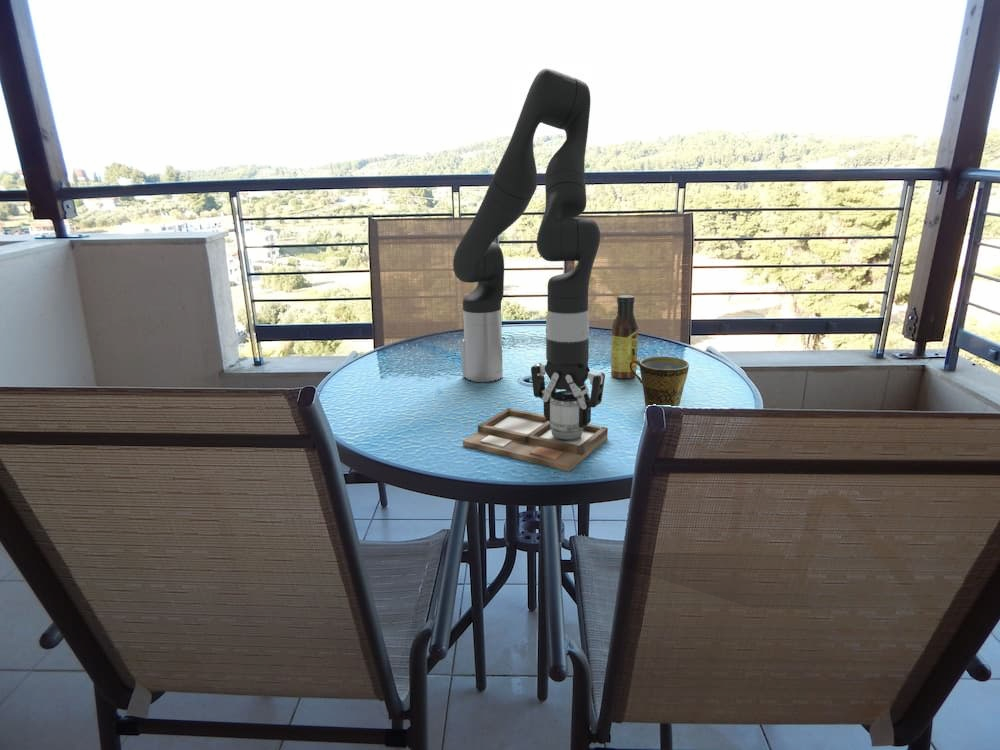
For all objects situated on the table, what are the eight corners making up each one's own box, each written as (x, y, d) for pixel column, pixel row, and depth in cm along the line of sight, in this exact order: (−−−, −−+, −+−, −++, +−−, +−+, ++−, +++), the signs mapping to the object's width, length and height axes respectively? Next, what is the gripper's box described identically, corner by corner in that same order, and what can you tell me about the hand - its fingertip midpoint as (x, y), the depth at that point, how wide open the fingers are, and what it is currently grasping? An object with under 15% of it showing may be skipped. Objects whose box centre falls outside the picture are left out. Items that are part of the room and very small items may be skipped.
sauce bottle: (636, 380, 151) (639, 299, 145) (610, 379, 152) (612, 298, 146) (636, 372, 157) (639, 294, 151) (611, 371, 158) (613, 293, 152)
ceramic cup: (694, 406, 133) (697, 361, 130) (672, 420, 126) (675, 372, 123) (640, 394, 141) (641, 351, 138) (616, 406, 134) (617, 361, 131)
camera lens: (590, 436, 114) (590, 396, 112) (559, 442, 112) (559, 401, 110) (573, 425, 120) (574, 386, 117) (544, 430, 118) (543, 391, 115)
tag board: (463, 445, 116) (462, 434, 116) (508, 418, 129) (507, 408, 128) (569, 471, 105) (569, 459, 104) (607, 438, 118) (607, 427, 117)
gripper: (614, 334, 109) (611, 423, 114) (541, 326, 117) (542, 410, 122) (596, 344, 103) (594, 437, 108) (521, 335, 111) (522, 422, 116)
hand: (566, 422), depth 115 cm, fingers closed on camera lens, 6 cm apart
